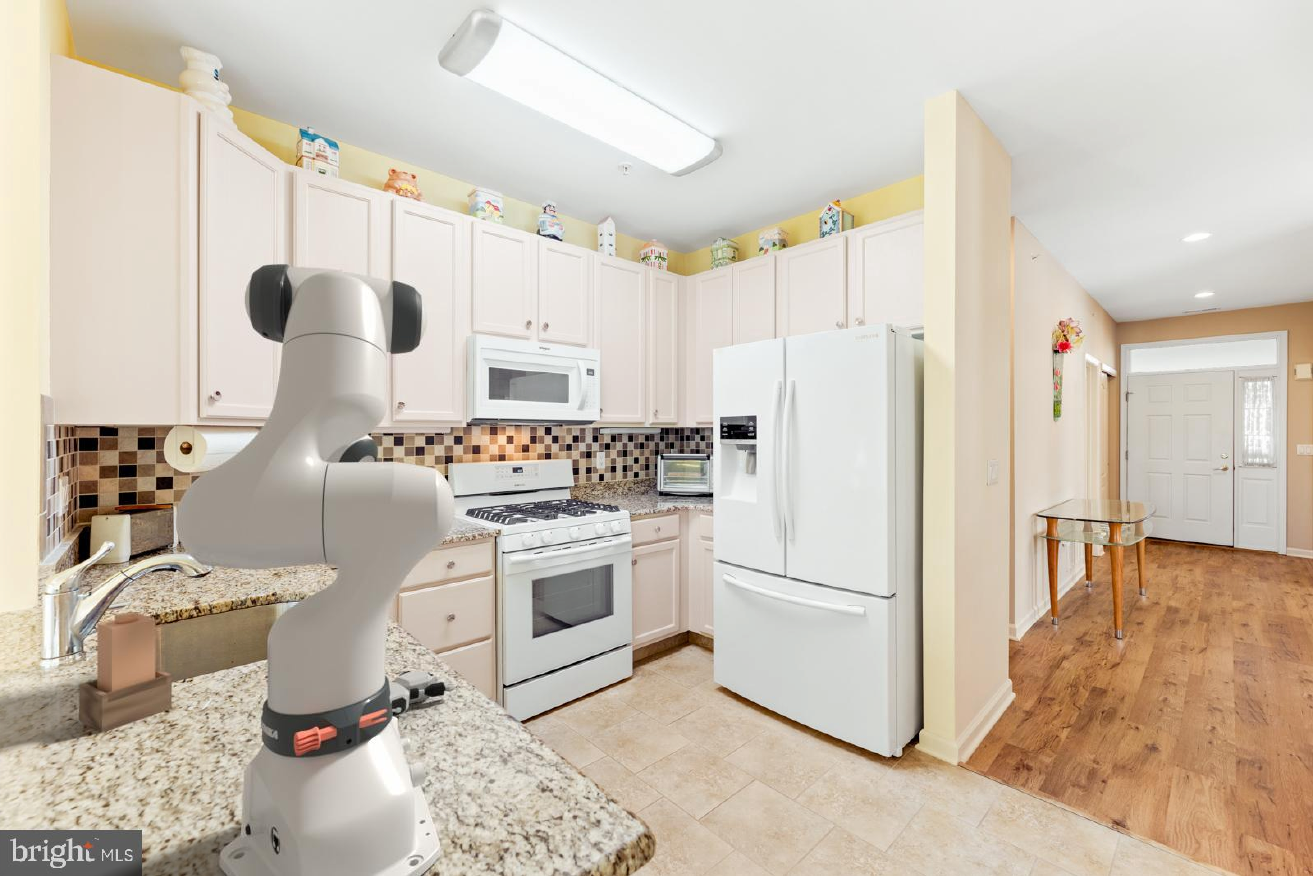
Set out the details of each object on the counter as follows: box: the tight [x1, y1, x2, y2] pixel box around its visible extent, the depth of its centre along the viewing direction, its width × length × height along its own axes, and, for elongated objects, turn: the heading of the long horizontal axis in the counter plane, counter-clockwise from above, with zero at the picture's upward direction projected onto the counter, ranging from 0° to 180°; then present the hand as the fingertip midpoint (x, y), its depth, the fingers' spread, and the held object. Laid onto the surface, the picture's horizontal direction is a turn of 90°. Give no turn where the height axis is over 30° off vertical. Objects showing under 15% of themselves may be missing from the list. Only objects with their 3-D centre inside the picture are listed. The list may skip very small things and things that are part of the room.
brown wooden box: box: [78, 667, 173, 733], centre depth 84 cm, size 8×8×5 cm
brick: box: [96, 611, 156, 693], centre depth 84 cm, size 5×5×11 cm
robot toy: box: [389, 670, 456, 718], centre depth 86 cm, size 12×4×15 cm
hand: (217, 527), depth 92 cm, fingers open, 8 cm apart
